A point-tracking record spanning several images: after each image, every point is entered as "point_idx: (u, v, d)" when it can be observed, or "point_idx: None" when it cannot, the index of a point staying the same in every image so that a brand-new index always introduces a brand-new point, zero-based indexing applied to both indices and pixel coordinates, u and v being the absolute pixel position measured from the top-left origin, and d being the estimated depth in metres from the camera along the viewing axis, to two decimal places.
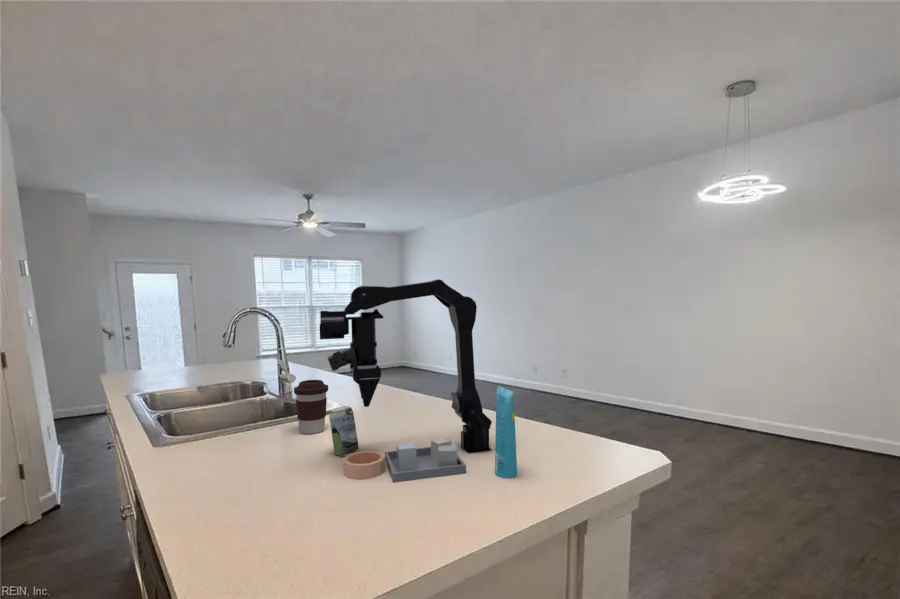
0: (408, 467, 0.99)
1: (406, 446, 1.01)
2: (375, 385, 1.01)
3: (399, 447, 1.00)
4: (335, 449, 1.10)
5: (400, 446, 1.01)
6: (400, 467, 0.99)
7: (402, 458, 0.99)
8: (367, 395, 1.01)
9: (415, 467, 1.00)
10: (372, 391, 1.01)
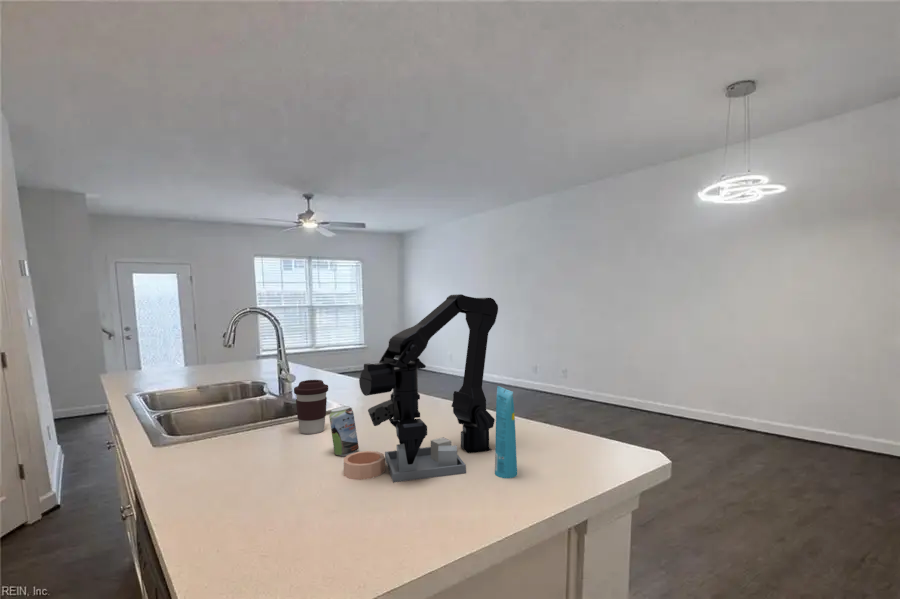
0: (408, 467, 0.99)
1: None
2: (420, 442, 0.95)
3: (399, 447, 1.00)
4: (335, 449, 1.10)
5: (400, 446, 1.01)
6: (400, 467, 0.99)
7: (402, 458, 0.99)
8: (411, 452, 0.96)
9: (415, 467, 1.00)
10: (416, 448, 0.96)
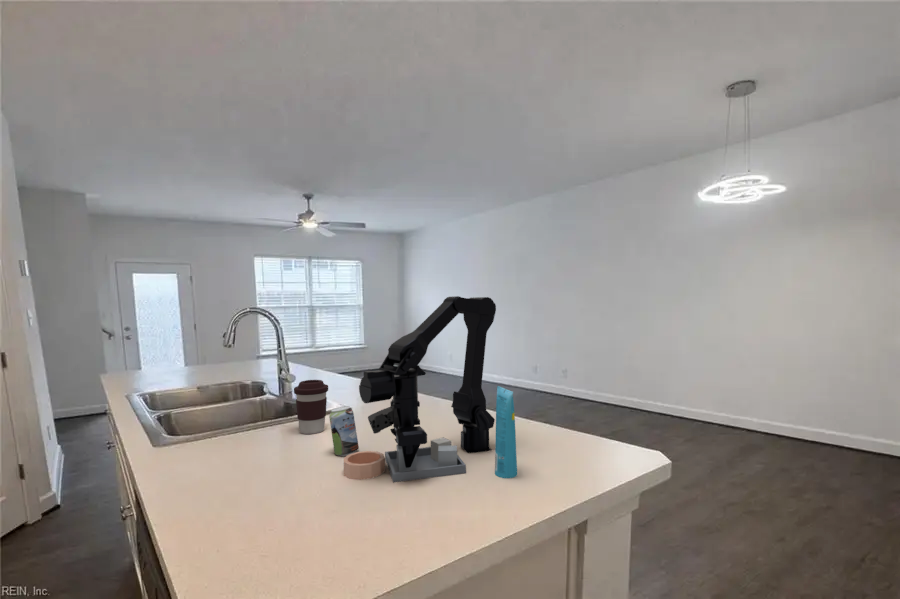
0: None
1: None
2: (417, 446, 0.98)
3: (399, 447, 1.00)
4: (335, 449, 1.10)
5: (400, 446, 1.01)
6: (400, 467, 0.99)
7: (402, 458, 0.99)
8: (409, 456, 0.98)
9: (415, 467, 1.00)
10: (414, 452, 0.98)
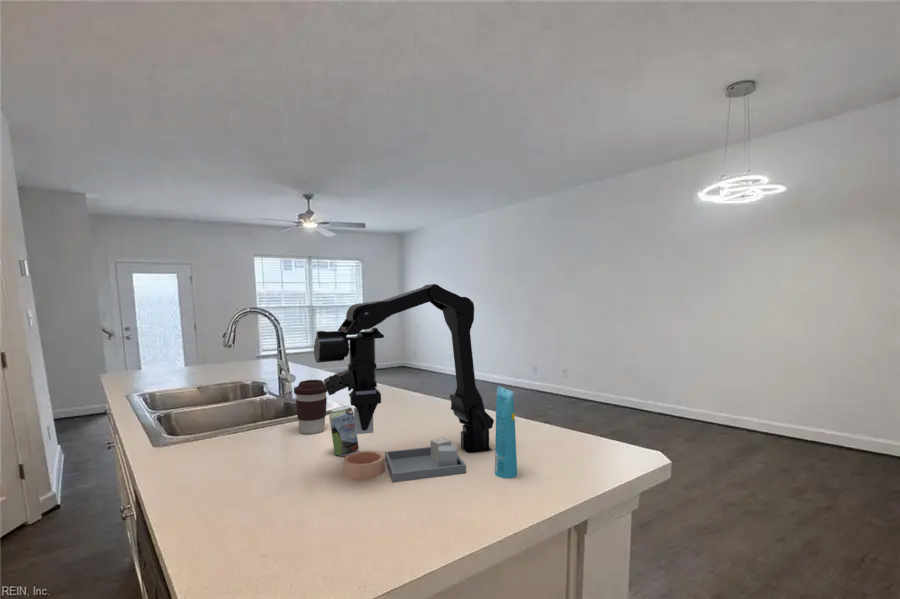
0: (364, 430, 0.98)
1: None
2: (373, 408, 0.96)
3: (356, 410, 0.99)
4: (335, 449, 1.10)
5: (357, 409, 0.99)
6: (356, 430, 0.97)
7: (359, 421, 0.97)
8: (365, 418, 0.97)
9: (372, 430, 0.98)
10: (370, 414, 0.97)
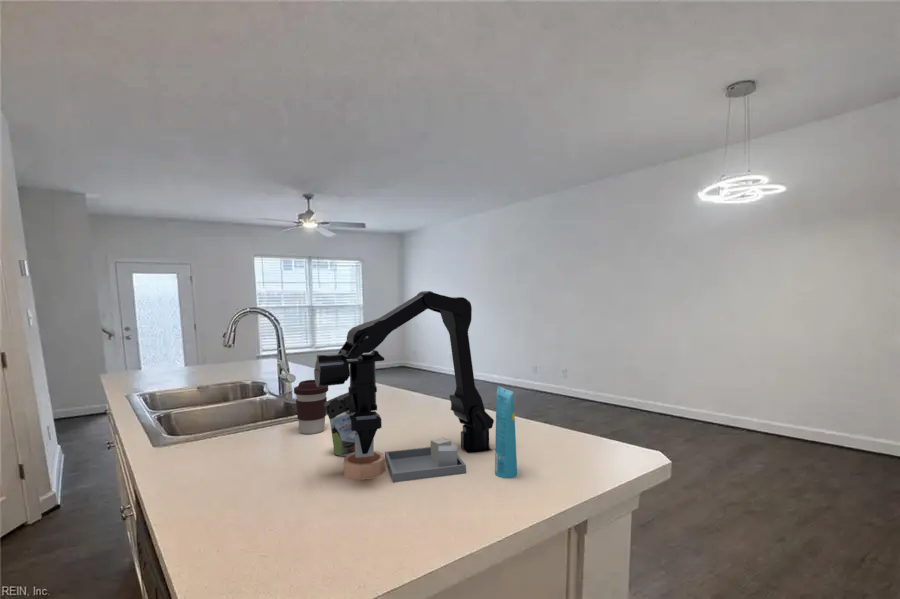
0: None
1: None
2: (374, 432, 0.96)
3: (356, 433, 0.99)
4: (335, 449, 1.10)
5: None
6: (356, 453, 0.97)
7: (359, 444, 0.97)
8: (365, 442, 0.97)
9: (372, 453, 0.98)
10: (371, 438, 0.97)
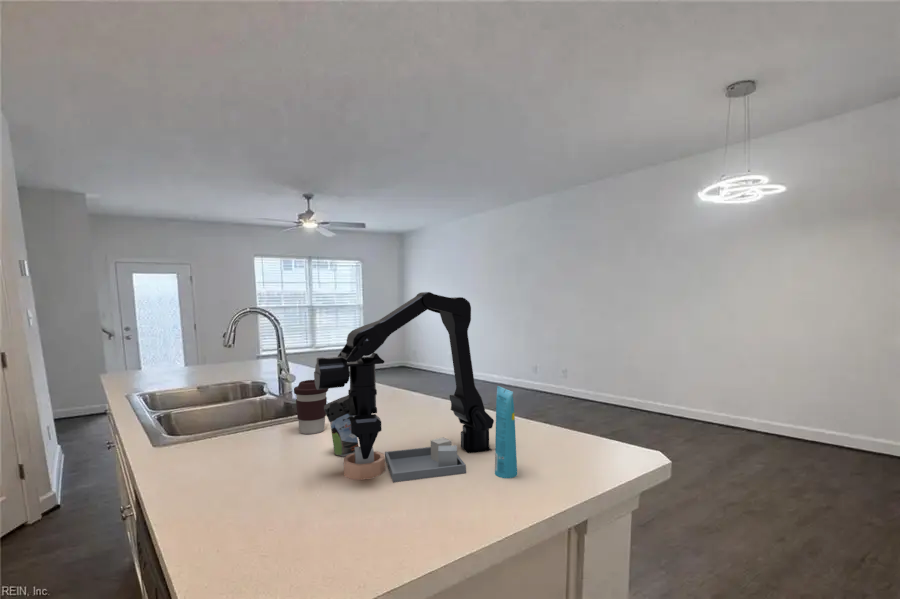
0: None
1: None
2: (374, 437, 0.95)
3: (356, 449, 0.99)
4: (335, 449, 1.10)
5: (358, 449, 0.99)
6: None
7: (359, 461, 0.97)
8: (366, 447, 0.95)
9: None
10: (371, 443, 0.95)
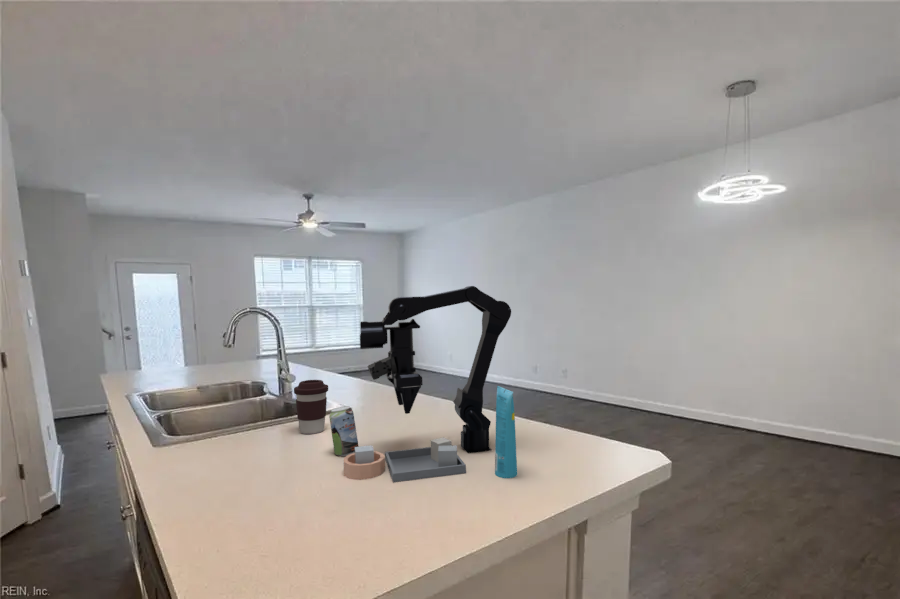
0: None
1: (364, 448, 0.99)
2: (416, 393, 1.05)
3: (356, 449, 0.99)
4: (335, 449, 1.10)
5: (358, 449, 0.99)
6: None
7: (359, 461, 0.97)
8: (408, 402, 1.05)
9: None
10: (413, 398, 1.05)
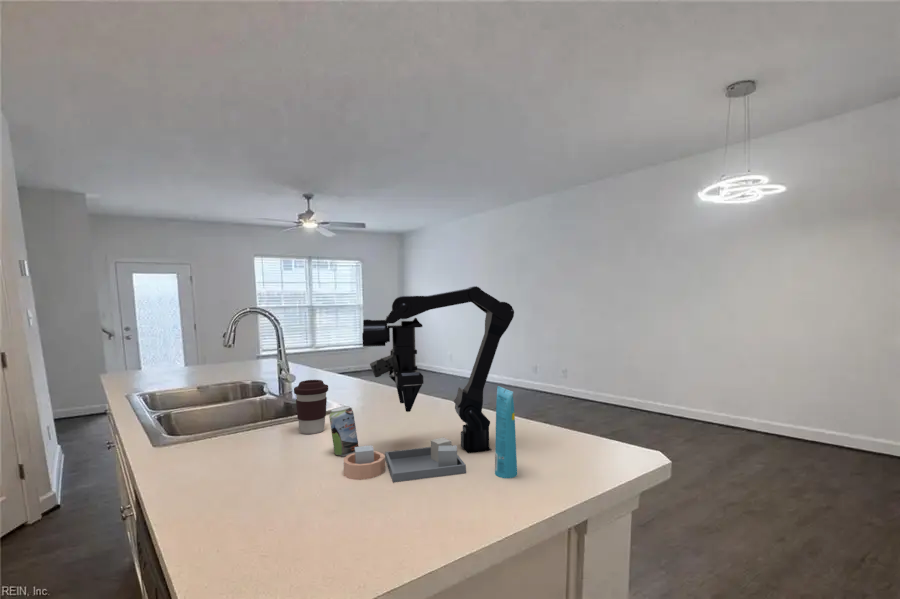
0: None
1: (364, 448, 0.99)
2: (417, 391, 1.05)
3: (356, 449, 0.99)
4: (335, 449, 1.10)
5: (358, 449, 0.99)
6: None
7: (359, 461, 0.97)
8: (409, 401, 1.06)
9: None
10: (414, 397, 1.06)
